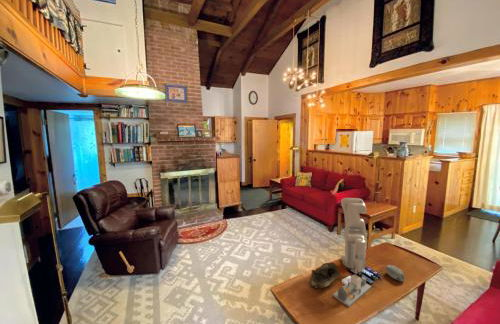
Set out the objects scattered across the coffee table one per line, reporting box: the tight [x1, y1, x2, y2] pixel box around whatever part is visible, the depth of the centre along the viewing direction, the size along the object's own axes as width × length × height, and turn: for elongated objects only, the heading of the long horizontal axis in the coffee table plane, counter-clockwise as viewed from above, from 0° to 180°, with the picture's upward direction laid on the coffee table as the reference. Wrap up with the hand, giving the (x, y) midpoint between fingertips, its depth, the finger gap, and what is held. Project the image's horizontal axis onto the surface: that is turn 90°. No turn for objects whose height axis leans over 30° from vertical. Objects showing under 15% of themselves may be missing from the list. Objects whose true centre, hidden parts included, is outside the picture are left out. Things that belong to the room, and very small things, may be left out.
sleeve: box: [350, 273, 361, 290], centre depth 150 cm, size 5×5×8 cm
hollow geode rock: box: [308, 262, 341, 290], centre depth 160 cm, size 28×13×15 cm
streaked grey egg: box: [385, 264, 406, 282], centre depth 163 cm, size 14×10×10 cm
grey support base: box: [332, 276, 372, 308], centre depth 149 cm, size 12×30×8 cm, turn 124°
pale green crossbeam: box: [345, 279, 363, 294], centre depth 149 cm, size 2×26×2 cm, turn 124°
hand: (359, 278), depth 153 cm, fingers closed
